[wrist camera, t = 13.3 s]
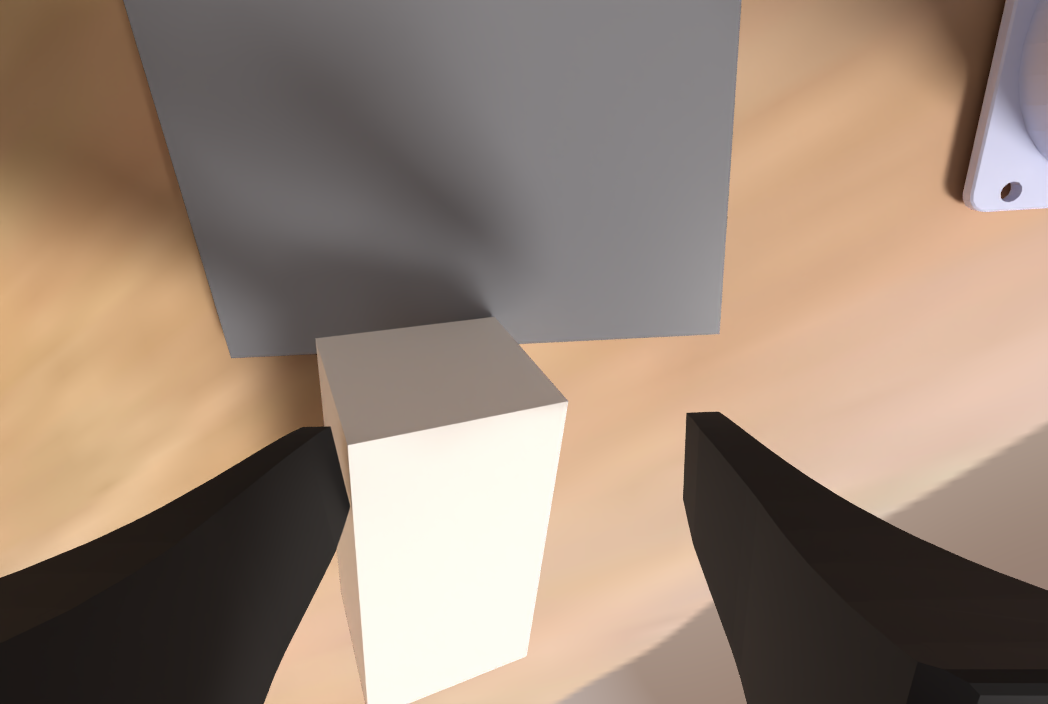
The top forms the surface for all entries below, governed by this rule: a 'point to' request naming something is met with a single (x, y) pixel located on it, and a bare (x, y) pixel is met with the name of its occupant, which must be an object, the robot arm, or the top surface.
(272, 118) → the plate
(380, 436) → the cover
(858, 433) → the top surface
